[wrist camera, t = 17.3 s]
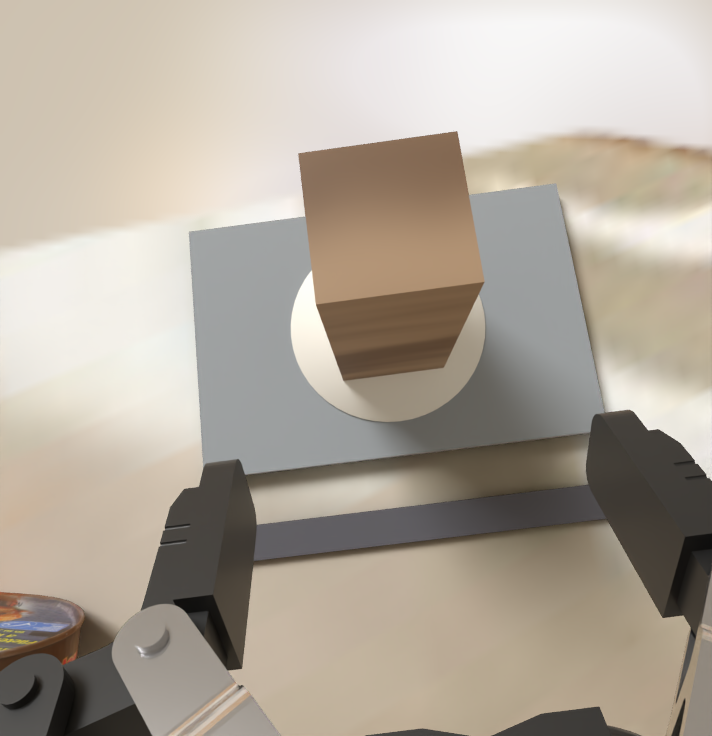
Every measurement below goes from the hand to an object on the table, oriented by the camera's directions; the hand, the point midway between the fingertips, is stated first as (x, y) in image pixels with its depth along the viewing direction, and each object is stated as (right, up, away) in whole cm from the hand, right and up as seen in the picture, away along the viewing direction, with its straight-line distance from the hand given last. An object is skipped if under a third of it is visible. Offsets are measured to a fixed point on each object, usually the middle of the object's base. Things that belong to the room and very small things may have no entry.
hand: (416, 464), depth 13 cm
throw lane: (0, +2, +14) cm, 14 cm away
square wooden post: (0, +4, +14) cm, 14 cm away
